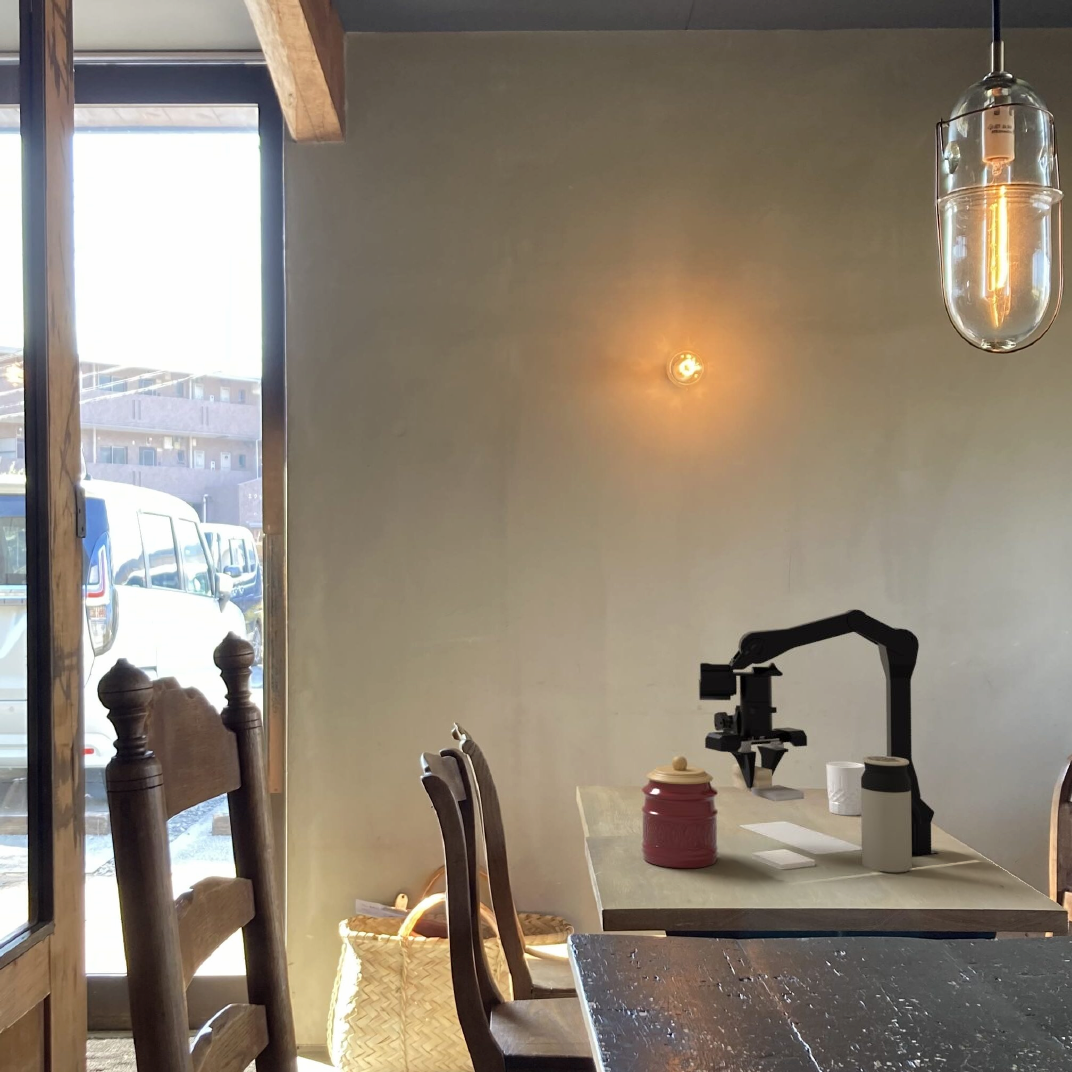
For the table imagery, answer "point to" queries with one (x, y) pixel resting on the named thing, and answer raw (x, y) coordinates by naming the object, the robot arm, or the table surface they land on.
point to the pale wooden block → (764, 785)
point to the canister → (679, 817)
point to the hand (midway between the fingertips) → (757, 787)
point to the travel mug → (886, 814)
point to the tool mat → (802, 837)
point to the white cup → (844, 787)
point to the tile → (783, 859)
